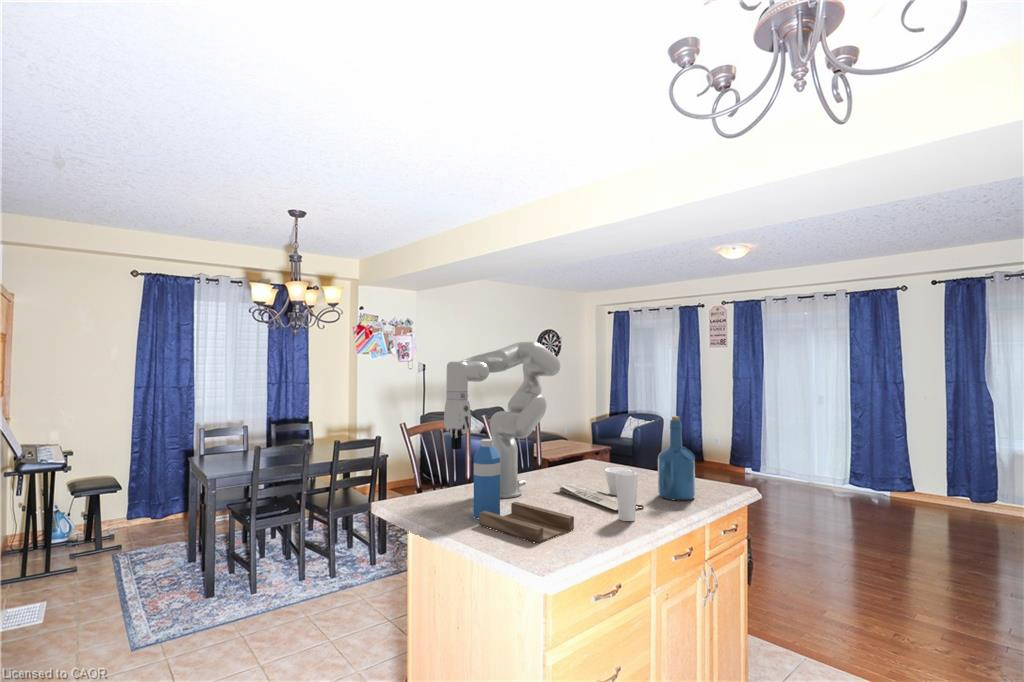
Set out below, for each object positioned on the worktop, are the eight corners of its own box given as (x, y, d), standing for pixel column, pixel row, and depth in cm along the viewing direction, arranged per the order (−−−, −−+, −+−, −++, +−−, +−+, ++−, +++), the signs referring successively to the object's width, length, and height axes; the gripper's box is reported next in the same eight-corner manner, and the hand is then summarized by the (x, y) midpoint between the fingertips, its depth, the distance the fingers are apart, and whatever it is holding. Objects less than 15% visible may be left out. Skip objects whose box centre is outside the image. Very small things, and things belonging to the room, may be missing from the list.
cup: (603, 496, 196) (603, 472, 196) (606, 490, 206) (606, 466, 206) (630, 498, 193) (630, 473, 193) (632, 492, 203) (632, 468, 203)
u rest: (516, 513, 175) (516, 501, 175) (573, 529, 158) (573, 516, 159) (479, 525, 163) (479, 512, 163) (537, 544, 146) (537, 529, 146)
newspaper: (643, 510, 180) (643, 499, 181) (617, 516, 174) (617, 505, 174) (577, 489, 210) (577, 480, 210) (552, 493, 203) (552, 484, 203)
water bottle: (495, 521, 167) (494, 442, 168) (468, 518, 170) (468, 441, 171) (504, 513, 176) (504, 438, 176) (479, 510, 179) (479, 437, 180)
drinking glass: (629, 515, 173) (629, 469, 173) (642, 521, 166) (641, 474, 167) (612, 517, 170) (611, 471, 171) (623, 524, 164) (623, 475, 164)
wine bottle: (651, 496, 196) (650, 416, 197) (670, 490, 205) (669, 413, 206) (684, 504, 186) (683, 419, 187) (703, 497, 195) (701, 416, 196)
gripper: (479, 397, 182) (478, 450, 181) (451, 395, 192) (451, 445, 191) (462, 398, 176) (462, 452, 176) (435, 395, 187) (434, 447, 186)
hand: (456, 448), depth 184 cm, fingers closed
